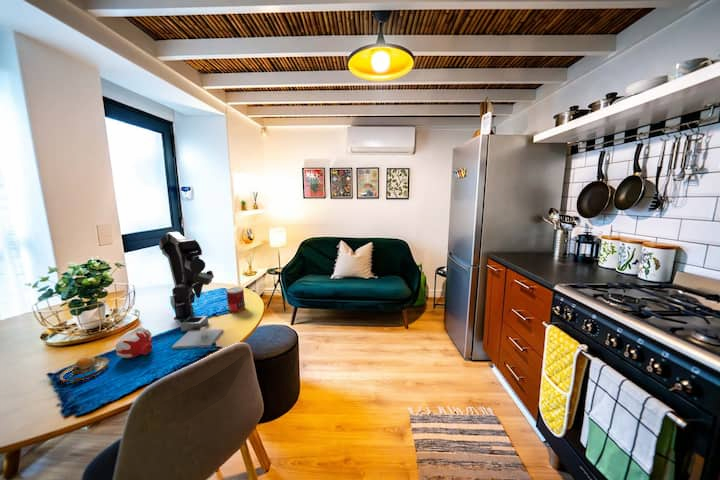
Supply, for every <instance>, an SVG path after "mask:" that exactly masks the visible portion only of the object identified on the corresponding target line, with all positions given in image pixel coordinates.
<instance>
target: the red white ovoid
mask: <svg viewBox="0 0 720 480" xmlns="http://www.w3.org/2000/svg"><path fill="white" fill-rule="evenodd" d="M152 342H153V337H152V332H151V331H150V330H149V329H145V327H143V326H142V325H141V326H137V327H136V328H134V329H131V330H129V331H127V332H126V333H124V334H123V335H122V336H121V337H120V338H119V339H118V340H117V342H116V343H115V353H116V356H118V357H121V358H122V359H125V360H126V359H133V358H136V357H137V356H141V355H147V354H150V352H151V351H152V350H153V344H152Z"/></svg>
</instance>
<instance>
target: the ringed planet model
mask: <svg viewBox="0 0 720 480" xmlns="http://www.w3.org/2000/svg"><path fill="white" fill-rule="evenodd" d="M97 356H98V355H95V356H91V355H84V356H82V357H80V358H78V360H77V361H76V362H75V363H74V364H73V365H70V367H68V368H66V369H65V370H63V371H62V372H61V373H60V374H59V375H58V377H57V379H58V381H59V380H60V381H62V382H63V383H64V382H72V381H78V382H80V381H79V380H82V379H86V378H88V377H91V378H93V377H92V376H94V375H96V374H97V373H99V372H101V371H103V370H104V369H106V368H107V367H108V363H109V362H110V359H109V357H106V356H105V357H104V356H98V357H97ZM73 369H74V371H72V370H73ZM94 369H95V372H94V373H91V374H89V375H87V376H84V377H81V378H77V379H72V380H65V379H63V376H64V375H65V374H66V373H68V372H70V371H72V373H73V374H72V373H70V374H72V376H70V377H74V376H75V375H78V374H85V373H87V372H90V371H91V370H93V371H94Z"/></svg>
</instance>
